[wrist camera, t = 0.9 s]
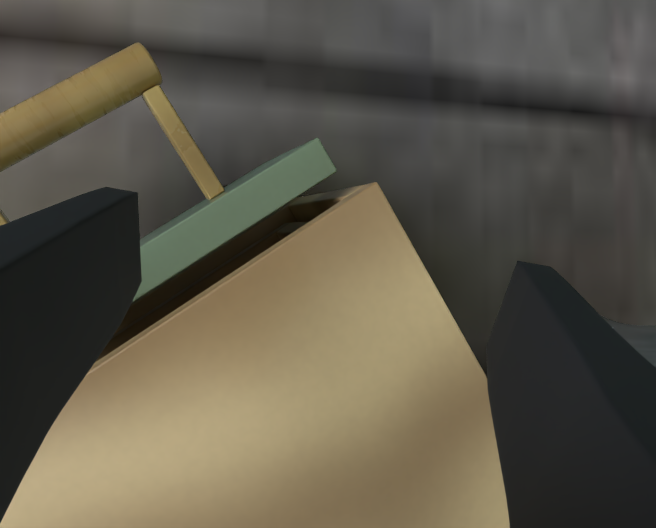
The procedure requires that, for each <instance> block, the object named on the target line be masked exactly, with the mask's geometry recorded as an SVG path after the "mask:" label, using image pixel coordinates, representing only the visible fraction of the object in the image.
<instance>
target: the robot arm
mask: <svg viewBox="0 0 656 528" xmlns="http://www.w3.org/2000/svg"><path fill="white" fill-rule="evenodd" d="M141 282H142V275H141V255H140V234H139V214H138V193H136V192H131V191H125V190H120V189H114V188H109V187H105V188H101V189H97V190H94V191H91V192H88V193H85V194H82V195H79V196H77V197H74V198H71V199H69V200H66V201H63V202H61V203H58V204H56V205H53V206H51V207H48V208H45V209H43V210H40V211H38V212H35V213H32V214H30V215H27V216H25V217H22V218H20V219H17V220H14V221H12V222H9V223H6V224H3V225H0V523H1V521H2V519H3V517H4V515H5V513H6V511H7V509H8V507H9V505H10V503H11V501H12V499H13V497H14V495H15V493H16V491H17V489H18V487H19V485H20V483H21V481H22V479H23V477H24V476H25V474H26V472H27V470H28V468H29V466H30V464H31V463H32V461H33V459H34V457H35V455H36V453H37V451H38V450H39V448H40V446H41V444H42V442H43V440H44V438H45V437H46V435H47V433H48V431H49V430H50V428H51V426H52V425H53V423H54V422H55V420H56V418H57V417H58V415H59V414H60V412H61V410H62V409H63V408H64V406H65V405H66V403H67V402H68V400H69V399H70V397H71V396H72V395H73V393H74V392H75V390H76V389H77V387H78V386H79V385H80V383H81V382H82V380H83V379H84V377H85V376H86V374H87V373H88V372H89V370H90V369H91V367H92V366H93V364H94V363H95V361H96V360H97V359H98V357H99V356H100V354H101V353H102V351H103V350H104V348H105V347H106V345H107V344H108V342H109V341H110V339H111V338H112V337H113V335H114V334H115V332H116V331H117V329H118V328H119V326H120V324H121V323H122V321H123V319H124V317H125V315H126V313H127V311H128V309H129V307H130V305H131V303H132V301H133V299H134V297H135V295H136V293H137V290H138V288H139V286H140V284H141ZM487 385H488V395H489V402H490V408H491V414H492V420H493V426H494V431H495V437H496V442H497V448H498V454H499V459H500V465H501V471H502V476H503V482H504V487H505V493H506V499H507V507H508V515H509V523H510V528H656V367H654V366H653V365H652V364H651V363H650V362H649V361H648V360H647V359H645V358H644V357H643V356H642V355H641V354H640V353H639V352H638V351H636V350H635V349H634V348H633V347H632V346H631V345H630V344H629V343H628V342H627V341H626V340H625V339H624V338H623V337H622V336H621V335H620V334H619V333H618V332H616V331H615V330H614V329H613V328H612V327H611V326H610V325H609V324H608V323H607V322H606V321H605V320H604V319H603V318H602V317H601V316H600V315H599V314H598V313H597V312H596V311H595V310H594V309H593V308H592V307H591V306H590V305H589V303H588V302H587V301H586V300H585V299H584V298H583V297H582V296H581V295H580V294H579V293H578V292H577V291H576V290H575V289H574V288H573V287H572V286H571V285H570V284H569V283H568V282H567V281H566V280H565V279H564V278H563V277H562V276H561V275H559V274H558V273H557V272H556V271H555V270H554V269H553V268H551V267H549V266H543V265H538V264H532V263H526V262H521V261H517V264H516V266H515V269H514V272H513V274H512V277H511V280H510V283H509V285H508V288H507V291H506V293H505V296H504V299H503V301H502V304H501V307H500V310H499V312H498V315H497V318H496V320H495V323H494V326H493V329H492V331H491V334H490V337H489V339H488V342H487Z"/></svg>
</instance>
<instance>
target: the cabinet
mask: <svg viewBox="0 0 656 528" xmlns="http://www.w3.org/2000/svg"><path fill="white" fill-rule="evenodd" d="M293 222H308V223H307V224H305V225H303V226H302V227H300V228H299V229H297V230H296V231H294V232H293V233H291V234H290V235H288V236H287V237H285V238H284V239H282V240H281V241H279V242H278V243H276V244H275V245H273V246H272V247H270V248H268V249H267V250H265V251H264V252H262V253H261V254H259V255H258V256H256V257H255V258H253V259H252V260H250V261H249V262H247V263H246V264H244V265H243V266H241V267H240V268H238V269H237V270H235V271H234V272H232V273H230V274H229V275H227V276H226V277H224V278H223V279H221V280H220V281H218V282H217V283H215V284H214V285H212V286H211V287H209V288H208V289H206V290H205V291H203V292H202V293H200V294H199V295H197V296H196V297H194V298H192V299H191V300H189V301H188V302H186V303H185V304H183V305H182V306H180V307H179V308H177V309H176V310H174V311H173V312H171V313H170V314H168V315H167V316H165V317H164V318H162V319H161V320H159V321H158V322H156V323H154V324H153V325H151V326H150V327H148V328H147V329H145V330H144V331H142V332H141V333H139V334H138V335H136V336H135V337H133V338H132V339H130V340H129V341H127V342H126V343H124V344H123V345H121V346H120V347H118V348H116V349H115V350H113V351H112V352H110V353H109V354H107V355H106V356H104V357H103V358H101V359H100V360H98V361H97V362H95V363H94V364H93V366H92V367H91V369H90V370H89V372H88V373H87V374H86V376H85V377H84V379H83V380H82V382H81V383H80V385H79V386H78V387H77V389H76V390H75V392H74V393H73V395H72V396H71V397H70V399H69V400H68V402H67V403H66V405H65V406H64V408H63V409H62V410H61V412H60V414H59V415H58V417H57V418H56V420H55V422H54V423H53V425H52V426H51V428H50V430H49V431H48V433H47V435H46V437H45V438H44V440H43V442H42V444H41V446H40V448H39V450H38V451H37V453H36V455H35V457H34V459H33V461H32V463H31V464H30V466H29V468H28V470H27V472H26V474H25V476H24V477H23V479H22V481H21V483H20V485H19V487H18V489H17V491H16V493H15V495H14V497H13V499H12V501H11V503H10V505H9V507H8V509H7V511H6V513H5V515H4V517H3V519H2V521H1V523H0V528H510V523H509V515H508V507H507V499H506V493H505V487H504V482H503V476H502V471H501V465H500V459H499V454H498V448H497V442H496V437H495V431H494V426H493V420H492V414H491V408H490V402H489V395H488V385H487V377H486V375H485V373H484V371H483V370H482V368H481V366H480V364H479V362H478V361H477V359H476V357H475V355H474V354H473V352H472V350H471V348H470V346H469V345H468V343H467V341H466V339H465V338H464V336H463V334H462V332H461V330H460V329H459V327H458V325H457V323H456V321H455V320H454V318H453V316H452V314H451V313H450V311H449V309H448V307H447V305H446V304H445V302H444V300H443V298H442V297H441V295H440V293H439V291H438V289H437V288H436V286H435V284H434V282H433V281H432V279H431V277H430V275H429V273H428V272H427V270H426V268H425V266H424V265H423V263H422V261H421V259H420V257H419V256H418V254H417V252H416V250H415V248H414V247H413V245H412V243H411V241H410V240H409V238H408V236H407V234H406V232H405V231H404V229H403V227H402V225H401V224H400V222H399V220H398V218H397V216H396V215H395V213H394V211H393V209H392V208H391V206H390V204H389V202H388V200H387V199H386V197H385V195H384V193H383V191H382V190H381V188H380V186H379V184H378V183H377V182H375V183H370V184H366V185H361V186H356V187H350V188H345V189H340V190H335V191H330V192H324V193H319V194H314V195H309V196H304V197H303V196H301V197H297V198H295V199H294V200H292V201H290V202H289V203H287V204H286V205H284V206H283V207H281V208H279V209H278V210H276V211H275V212H273V213H272V214H270V215H269V216H267V217H265V218H264V219H262V220H261V221H259V222H258V223H256V224H255V225H253V226H251V227H250V228H248V229H247V230H245V231H244V232H242V233H240V234H239V235H237V236H236V237H234V238H233V239H231V240H230V241H228V242H226V243H225V244H223V245H222V246H220V247H219V248H217V249H216V250H214V251H212V252H211V253H209V254H208V255H206V256H205V257H203V258H201V259H200V260H198V261H197V262H195V263H194V264H192V265H191V266H189V267H187V268H186V269H184V270H183V271H181V272H180V273H178V274H177V275H175V276H173V277H172V278H170V279H169V280H167V281H166V282H164V283H162V284H161V285H159V286H158V287H156V288H155V289H153V290H152V291H150V292H148V293H147V294H145V295H144V296H142V297H141V298H139V299H138V300H136V301H134V302H133V303H131V305H130V307H129V309H128V311H127V313H126V315H125V317H124V319H123V321H122V323H121V324H120V326H119V328H118V329H117V331H116V332H115V333H117V332H118V331H120V330H121V329H123V328H125V327H126V326H128V325H129V324H131V323H132V322H134V321H135V320H137V319H138V318H140V317H141V316H143V315H145V314H146V313H148V312H149V311H151V310H152V309H154V308H155V307H157V306H158V305H160V304H161V303H163V302H165V301H166V300H168V299H169V298H171V297H172V296H174V295H175V294H177V293H178V292H180V291H181V290H183V289H185V288H186V287H188V286H189V285H191V284H192V283H194V282H195V281H197V280H198V279H200V278H201V277H203V276H205V275H206V274H208V273H209V272H211V271H212V270H214V269H215V268H217V267H218V266H220V265H221V264H223V263H225V262H226V261H228V260H229V259H231V258H232V257H234V256H235V255H237V254H238V253H240V252H241V251H243V250H244V249H246V248H248V247H249V246H251V245H252V244H254V243H255V242H257V241H258V240H260V239H261V238H263V237H264V236H266V235H268V234H269V233H271V232H272V231H274V230H275V229H277V228H278V227H280V226H281V225H283V224H284V223H293Z"/></svg>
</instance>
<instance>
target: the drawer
mask: <svg viewBox="0 0 656 528" xmlns="http://www.w3.org/2000/svg"><path fill="white" fill-rule="evenodd" d="M161 84H162V77H161V74H160V72H159V69H158V67H157V65H156V64H155V62H154V60H153V58H152V57H151V55H150V54H149V52H148V51H147V50H146V48H145V47H144V46H143V45H142V44H141V43H135V44H133V45H131V46H129V47H127V48H125V49H123V50H121V51H119V52H118V53H116V54H114V55H112V56H110V57H108V58H106V59H104V60H102V61H100V62H98V63H96V64H94V65H92V66H91V67H89V68H87V69H85V70H83V71H81V72H79V73H77V74H75V75H73V76H71V77H69V78H67V79H66V80H64V81H62V82H60V83H58V84H56V85H54V86H52V87H50V88H48V89H46V90H44V91H42V92H40V93H39V94H37V95H35V96H33V97H31V98H29V99H27V100H25V101H23V102H21V103H19V104H17V105H15V106H13V107H12V108H10V109H8V110H6V111H4V112H2V113H0V172H1V171H3V170H5V169H7V168H9V167H10V166H12V165H14V164H16V163H18V162H20V161H21V160H23V159H25V158H27V157H29V156H31V155H32V154H34V153H36V152H38V151H40V150H42V149H43V148H45V147H47V146H49V145H51V144H53V143H54V142H56V141H58V140H60V139H62V138H64V137H65V136H67V135H69V134H71V133H73V132H75V131H76V130H78V129H80V128H82V127H84V126H86V125H87V124H89V123H91V122H93V121H95V120H97V119H98V118H100V117H102V116H104V115H106V114H108V113H109V112H111V111H113V110H115V109H117V108H119V107H120V106H122V105H124V104H126V103H128V102H130V101H132V100H133V99H135V98H137V97H139V96H141V95H142V98H143V100H144V101H145V103H146V104H147V106H148V107H149V109H150V111H151V112H152V114H153V115H154V117H155V118H156V120H157V122H158V123H159V125H160V126H161V128H162V129H163V131H164V133H165V134H166V136H167V137H168V139H169V140H170V142H171V143H172V145H173V147H174V148H175V150H176V151H177V153H178V154H179V156H180V158H181V159H182V161H183V162H184V164H185V165H186V167H187V168H188V170H189V172H190V173H191V175H192V176H193V178H194V179H195V181H196V183H197V184H198V186H199V187H200V189H201V190H202V192H203V194H204V195H205V197H206V199H205V200H203V201H202V202H200V203H198V204H197V205H195V206H193V207H192V208H190V209H189V210H187V211H185V212H184V213H182V214H180V215H179V216H177V217H175V218H174V219H172V220H171V221H169V222H167V223H166V224H164V225H162V226H161V227H159V228H158V229H156V230H154V231H153V232H151V233H149V234H148V235H146V236H145V237H143V238H141V239H140V255H141V275H142V282H141V284H140V286H139V288H138V290H137V293H136V295H135V297H134V299H133V301H132V303H133V302H134V301H136V300H137V299H139V298H140V297H142V296H143V295H145V294H147V293H148V292H150V291H151V290H153V289H154V288H156V287H157V286H159V285H161V284H162V283H164V282H165V281H167V280H168V279H170V278H172V277H173V276H175V275H176V274H178V273H179V272H181V271H182V270H184V269H186V268H187V267H189V266H190V265H192V264H193V263H195V262H196V261H198V260H200V259H201V258H203V257H204V256H206V255H207V254H209V253H211V252H212V251H214V250H215V249H217V248H218V247H220V246H221V245H223V244H225V243H226V242H228V241H229V240H231V239H232V238H234V237H235V236H237V235H239V234H240V233H242V232H243V231H245V230H246V229H248V228H250V227H251V226H253V225H254V224H256V223H257V222H259V221H260V220H262V219H264V218H265V217H267V216H268V215H270V214H271V213H273V212H274V211H276V210H278V209H279V208H281V207H282V206H284V205H285V204H287V203H289V202H290V201H292V200H293V199H295V198H296V197H298V196H299V195H301V194H303V193H304V192H306V191H307V190H309V189H310V188H312V187H314V186H315V185H317V184H318V183H320V182H321V181H323V180H324V179H326V178H328V177H329V176H331V175H332V174H334V173H335V172H336V171H337V169H336V168H335V166H334V164H333V162H332V161H331V159H330V157H329V156H328V154H327V152H326V150H325V149H324V147H323V145H322V143H321V142H320V140H319V138H315V139H313V140H311V141H309V142H307V143H305V144H303V145H300V146H298V147H296V148H294V149H292V150H290V151H288V152H286V153H284V154H282V155H280V156H278V157H275V158H273V159H271V160H269V161H267V162H265V163H264V164H262V165H260V166H259V167H257V168H255V169H254V170H252V171H251V172H249V173H247V174H246V175H244V176H242V177H241V178H239V179H237V180H236V181H234V182H233V183H231V184H229V185H228V186H226V187H223V186H222V184H221V183H220V181H219V179H218V178H217V176H216V175H215V173H214V172H213V170H212V168H211V167H210V165H209V164H208V162H207V160H206V159H205V157H204V156H203V154H202V152H201V151H200V149H199V148H198V146H197V144H196V143H195V141H194V140H193V138H192V137H191V135H190V133H189V132H188V130H187V129H186V127H185V125H184V124H183V122H182V121H181V119H180V117H179V116H178V114H177V113H176V111H175V110H174V108H173V106H172V105H171V103H170V102H169V100H168V98H167V97H166V95H165V94H164V92H163V90H162V89H161V87H160V86H159V85H161ZM9 222H10V221H9V220H8V218H7V217H6V216H5V214H4V213H3V212H2V210H1V209H0V225H3V224H6V223H9ZM307 223H308V222H293V223H284V224H283V225H281V226H280V227H278V228H277V229H275V230H274V231H272V232H271V233H269V234H268V235H266V236H264V237H263V238H261V239H260V240H258V241H257V242H255V243H254V244H252V245H251V246H249V247H248V248H246V249H244V250H243V251H241V252H240V253H238V254H237V255H235V256H234V257H232V258H231V259H229V260H228V261H226V262H225V263H223V264H221V265H220V266H218V267H217V268H215V269H214V270H212V271H211V272H209V273H208V274H206V275H205V276H203V277H201V278H200V279H198V280H197V281H195V282H194V283H192V284H191V285H189V286H188V287H186V288H185V289H183V290H181V291H180V292H178V293H177V294H175V295H174V296H172V297H171V298H169V299H168V300H166V301H165V302H163V303H161V304H160V305H158V306H157V307H155V308H154V309H152V310H151V311H149V312H148V313H146V314H145V315H143V316H141V317H140V318H138V319H137V320H135V321H134V322H132V323H131V324H129V325H128V326H126V327H125V328H123V329H121V330H120V331H118V332H117V333H115V334H114V335H113V337H112V338H111V339H110V341H109V342H108V344H107V345H106V347H105V348H104V350H103V351H102V353H101V354H100V356H99V357H98V359H97V360H96V361H95V362H97V361H98V360H100V359H101V358H103V357H104V356H106V355H107V354H109V353H110V352H112V351H113V350H115V349H116V348H118V347H120V346H121V345H123V344H124V343H126V342H127V341H129V340H130V339H132V338H133V337H135V336H136V335H138V334H139V333H141V332H142V331H144V330H145V329H147V328H148V327H150V326H151V325H153V324H154V323H156V322H158V321H159V320H161V319H162V318H164V317H165V316H167V315H168V314H170V313H171V312H173V311H174V310H176V309H177V308H179V307H180V306H182V305H183V304H185V303H186V302H188V301H189V300H191V299H192V298H194V297H196V296H197V295H199V294H200V293H202V292H203V291H205V290H206V289H208V288H209V287H211V286H212V285H214V284H215V283H217V282H218V281H220V280H221V279H223V278H224V277H226V276H227V275H229V274H230V273H232V272H234V271H235V270H237V269H238V268H240V267H241V266H243V265H244V264H246V263H247V262H249V261H250V260H252V259H253V258H255V257H256V256H258V255H259V254H261V253H262V252H264V251H265V250H267V249H268V248H270V247H272V246H273V245H275V244H276V243H278V242H279V241H281V240H282V239H284V238H285V237H287V236H288V235H290V234H291V233H293V232H294V231H296V230H297V229H299V228H300V227H302V226H303V225H305V224H307Z"/></svg>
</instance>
